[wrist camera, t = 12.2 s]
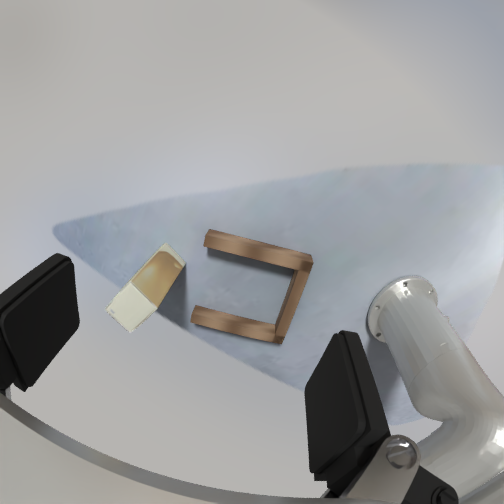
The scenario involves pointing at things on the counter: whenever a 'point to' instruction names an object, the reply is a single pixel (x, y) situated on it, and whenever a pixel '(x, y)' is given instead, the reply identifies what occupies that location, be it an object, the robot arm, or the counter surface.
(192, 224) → the counter surface
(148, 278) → the skincare box
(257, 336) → the open wooden u frame
